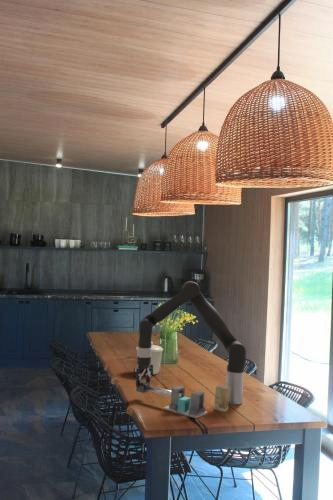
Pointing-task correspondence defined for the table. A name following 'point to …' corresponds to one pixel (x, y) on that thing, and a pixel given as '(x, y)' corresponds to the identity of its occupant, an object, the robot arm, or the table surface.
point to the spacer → (183, 403)
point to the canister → (155, 357)
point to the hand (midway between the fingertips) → (142, 385)
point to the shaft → (153, 389)
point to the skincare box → (221, 398)
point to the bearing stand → (196, 403)
